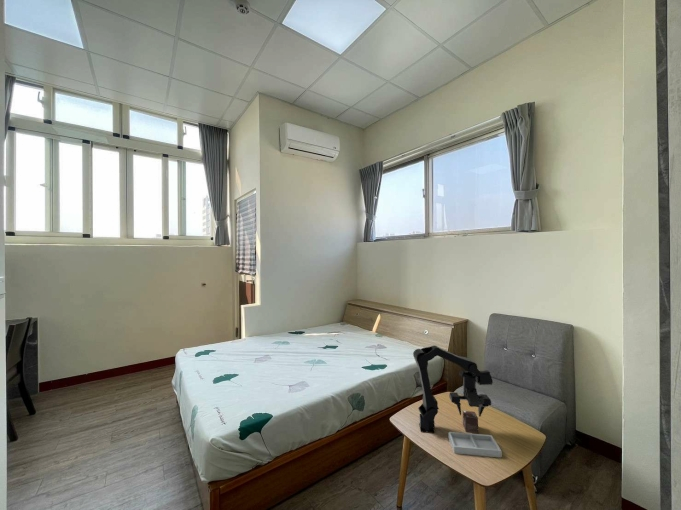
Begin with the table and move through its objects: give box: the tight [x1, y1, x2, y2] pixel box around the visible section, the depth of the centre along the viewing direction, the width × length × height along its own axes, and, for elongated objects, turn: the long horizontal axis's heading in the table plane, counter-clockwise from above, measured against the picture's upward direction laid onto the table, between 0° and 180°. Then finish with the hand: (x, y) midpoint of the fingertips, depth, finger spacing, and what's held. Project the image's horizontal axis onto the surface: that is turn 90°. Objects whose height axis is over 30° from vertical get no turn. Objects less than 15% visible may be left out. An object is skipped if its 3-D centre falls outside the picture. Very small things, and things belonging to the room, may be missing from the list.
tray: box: [447, 431, 503, 458], centre depth 123 cm, size 20×11×3 cm, turn 82°
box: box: [462, 410, 479, 434], centre depth 137 cm, size 6×6×7 cm
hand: (469, 415), depth 137 cm, fingers open, 9 cm apart
